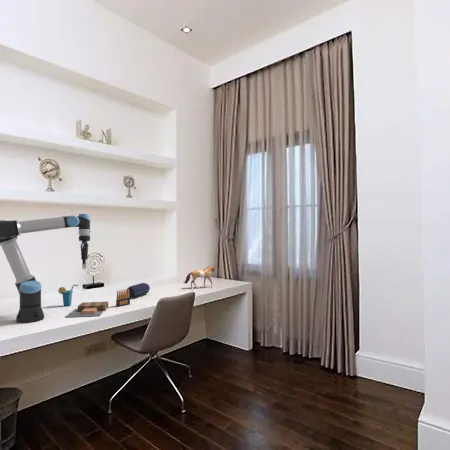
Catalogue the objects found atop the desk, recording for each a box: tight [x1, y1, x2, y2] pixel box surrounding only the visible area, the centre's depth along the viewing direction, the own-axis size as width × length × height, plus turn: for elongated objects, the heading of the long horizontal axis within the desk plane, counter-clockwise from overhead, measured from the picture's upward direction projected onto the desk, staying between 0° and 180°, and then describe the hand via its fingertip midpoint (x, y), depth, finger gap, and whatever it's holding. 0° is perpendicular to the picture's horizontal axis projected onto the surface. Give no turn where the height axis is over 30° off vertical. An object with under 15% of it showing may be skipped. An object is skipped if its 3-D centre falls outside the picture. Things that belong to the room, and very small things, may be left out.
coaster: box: [82, 308, 97, 314], centre depth 228 cm, size 8×8×2 cm
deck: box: [77, 301, 109, 312], centre depth 238 cm, size 18×12×4 cm, turn 99°
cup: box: [58, 284, 79, 307], centre depth 251 cm, size 14×8×15 cm, turn 134°
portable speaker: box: [126, 282, 151, 299], centre depth 285 cm, size 25×10×10 cm, turn 161°
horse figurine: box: [183, 265, 215, 289], centre depth 323 cm, size 31×8×21 cm, turn 109°
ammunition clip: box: [115, 288, 131, 308], centre depth 250 cm, size 11×2×12 cm, turn 140°
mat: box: [64, 311, 104, 319], centre depth 224 cm, size 21×12×1 cm, turn 99°
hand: (84, 268), depth 242 cm, fingers closed
